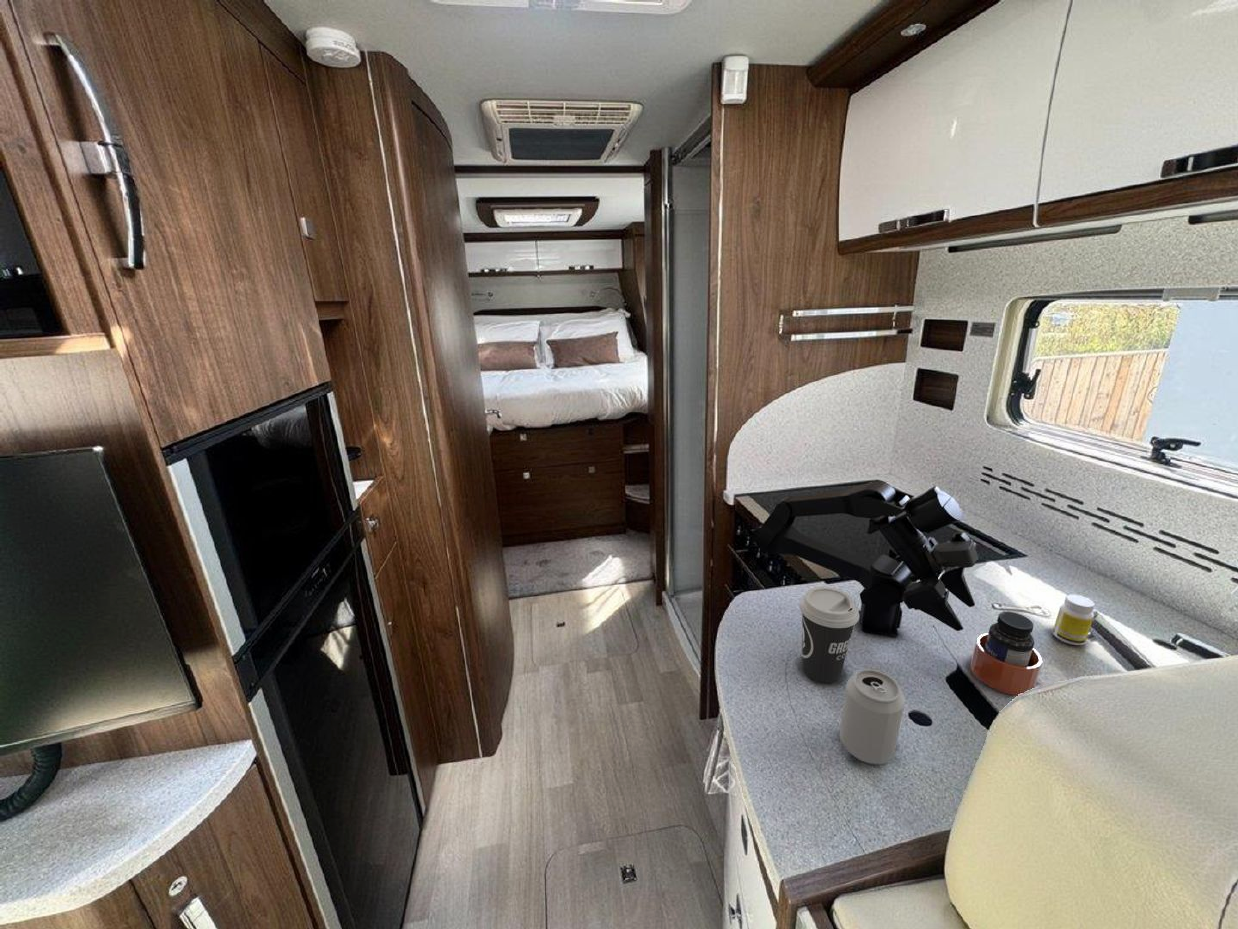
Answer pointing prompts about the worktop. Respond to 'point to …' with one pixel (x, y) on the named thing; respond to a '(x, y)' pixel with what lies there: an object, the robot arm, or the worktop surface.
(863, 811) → the worktop surface
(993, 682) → the ceramic bowl
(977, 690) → the worktop surface
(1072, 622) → the supplement bottle
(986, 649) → the pill bottle
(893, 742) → the can
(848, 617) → the coffee cup
